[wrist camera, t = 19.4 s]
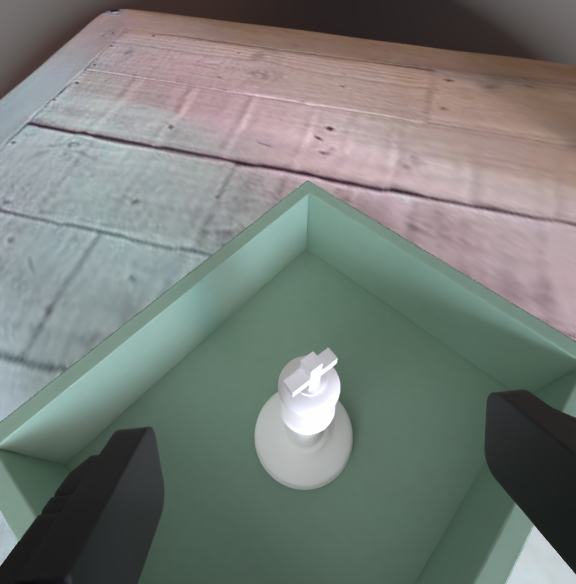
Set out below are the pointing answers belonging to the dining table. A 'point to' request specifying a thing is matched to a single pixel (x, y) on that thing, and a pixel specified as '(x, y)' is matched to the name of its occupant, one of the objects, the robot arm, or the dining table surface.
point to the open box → (353, 396)
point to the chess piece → (305, 425)
